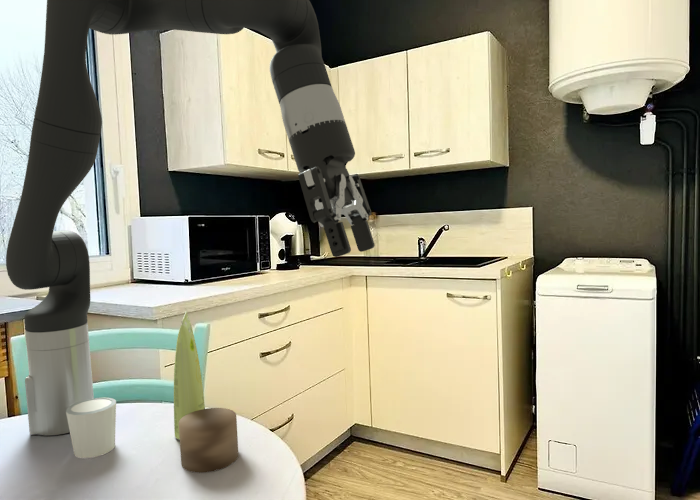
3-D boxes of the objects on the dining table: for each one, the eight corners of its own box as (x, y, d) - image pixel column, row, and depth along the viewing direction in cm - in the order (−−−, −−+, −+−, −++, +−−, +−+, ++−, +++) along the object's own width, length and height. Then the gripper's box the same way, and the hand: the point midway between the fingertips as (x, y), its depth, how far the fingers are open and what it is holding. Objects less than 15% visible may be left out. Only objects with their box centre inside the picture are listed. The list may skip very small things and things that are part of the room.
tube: (216, 433, 82) (208, 313, 81) (189, 445, 78) (181, 320, 76) (193, 425, 85) (186, 310, 84) (167, 437, 81) (159, 316, 80)
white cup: (99, 461, 74) (95, 415, 73) (58, 459, 75) (54, 413, 75) (129, 440, 81) (125, 397, 80) (91, 438, 82) (87, 395, 82)
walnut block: (179, 477, 69) (177, 434, 68) (182, 450, 77) (180, 412, 76) (240, 467, 71) (237, 425, 71) (237, 442, 79) (234, 404, 78)
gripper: (315, 148, 72) (350, 256, 72) (262, 133, 59) (304, 266, 58) (362, 127, 70) (399, 240, 69) (317, 107, 56) (362, 246, 56)
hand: (355, 252), depth 64 cm, fingers open, 8 cm apart
